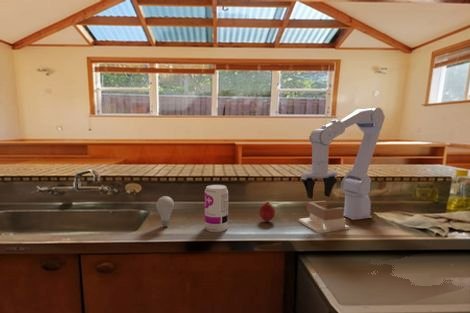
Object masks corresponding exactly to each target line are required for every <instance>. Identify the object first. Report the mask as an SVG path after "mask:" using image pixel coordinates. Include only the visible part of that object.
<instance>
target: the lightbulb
mask: <svg viewBox="0 0 470 313" xmlns="http://www.w3.org/2000/svg"><path fill="white" fill-rule="evenodd" d="M155 206H156V209H157V212H158V213H159V216H160V220H161V225H162V226H163V227H168V226H169V225H170V220H171V214H172V212H173V209H174V206H175V202H174V199H173V198H172V197H170V196H167V195H166V196H165V195H163V196H161V197H160V198H158V199H157V201H156V204H155Z"/></svg>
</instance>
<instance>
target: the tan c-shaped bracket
mask: <svg viewBox="0 0 470 313" xmlns="http://www.w3.org/2000/svg"><path fill="white" fill-rule="evenodd" d="M306 205H307V206H306V211H307V212H308V213H309V214H310V213H312V214H314V215H315V216H317V217H319V218H321V219H323V220H331V219H339V218H345V216H344V207H333V208H332V207H331V208H328V201H327V200H318V201H308V202H307V204H306Z"/></svg>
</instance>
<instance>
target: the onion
mask: <svg viewBox="0 0 470 313" xmlns="http://www.w3.org/2000/svg"><path fill="white" fill-rule="evenodd" d="M275 212H276V210H275V208H274V206H273V205H272V204H270V201H268V200H266V201H265V203H264V204H262V205H261V207H260V208H259V212H258V213H259V216H260V218H261V219H262V220H263V221H264V222H266V223H269V222H270V221H271V220H272V219H273V218H274V217H275V215H276V213H275Z"/></svg>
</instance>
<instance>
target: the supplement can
mask: <svg viewBox="0 0 470 313" xmlns="http://www.w3.org/2000/svg"><path fill="white" fill-rule="evenodd" d="M228 227H229V190H228V188H227V186H226V185H225V184H210V185H209V184H208V185H207V186H206V187H205V189H204V229H206V231H208V232H210V233H222V232H225V231H226V230H227V229H228Z"/></svg>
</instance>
